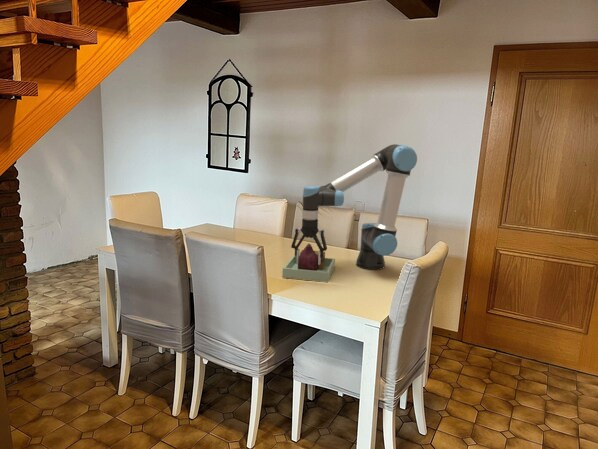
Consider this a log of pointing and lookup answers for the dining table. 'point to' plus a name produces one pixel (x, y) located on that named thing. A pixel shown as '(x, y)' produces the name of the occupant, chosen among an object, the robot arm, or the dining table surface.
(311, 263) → the vegetable
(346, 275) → the dining table surface
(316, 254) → the walnut block
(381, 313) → the dining table surface
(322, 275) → the tray
